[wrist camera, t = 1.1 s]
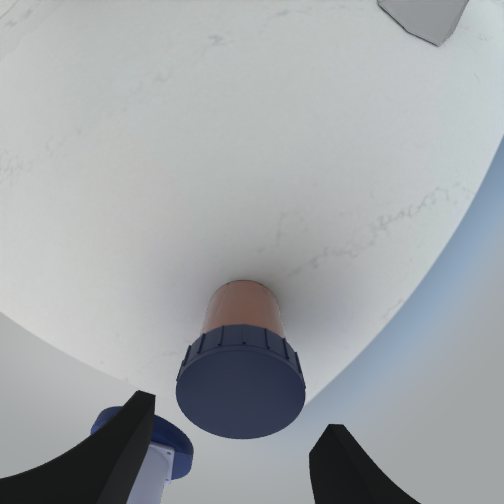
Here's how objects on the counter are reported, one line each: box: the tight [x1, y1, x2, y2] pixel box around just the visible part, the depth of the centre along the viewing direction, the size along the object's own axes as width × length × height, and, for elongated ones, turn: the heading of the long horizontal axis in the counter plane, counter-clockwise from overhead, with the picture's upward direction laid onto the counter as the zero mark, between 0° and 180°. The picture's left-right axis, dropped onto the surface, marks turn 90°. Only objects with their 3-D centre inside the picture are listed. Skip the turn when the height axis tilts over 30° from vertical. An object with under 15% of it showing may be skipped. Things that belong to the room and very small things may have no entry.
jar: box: [199, 280, 286, 339], centre depth 15 cm, size 5×5×8 cm
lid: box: [176, 323, 306, 439], centre depth 11 cm, size 5×5×2 cm
